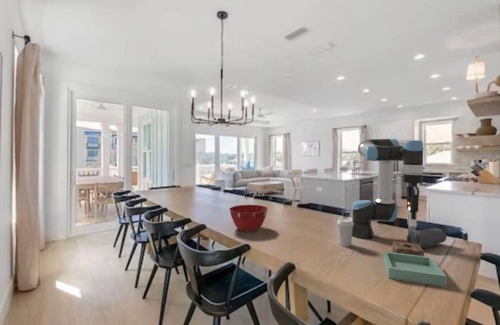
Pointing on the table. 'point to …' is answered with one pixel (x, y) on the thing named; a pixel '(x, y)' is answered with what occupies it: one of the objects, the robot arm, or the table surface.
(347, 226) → the coffee cup
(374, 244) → the table surface
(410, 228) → the pin
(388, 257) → the parts tray
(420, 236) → the bluetooth speaker
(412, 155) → the robot arm
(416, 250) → the wooden socket block
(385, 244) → the table surface
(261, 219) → the mixing bowl
